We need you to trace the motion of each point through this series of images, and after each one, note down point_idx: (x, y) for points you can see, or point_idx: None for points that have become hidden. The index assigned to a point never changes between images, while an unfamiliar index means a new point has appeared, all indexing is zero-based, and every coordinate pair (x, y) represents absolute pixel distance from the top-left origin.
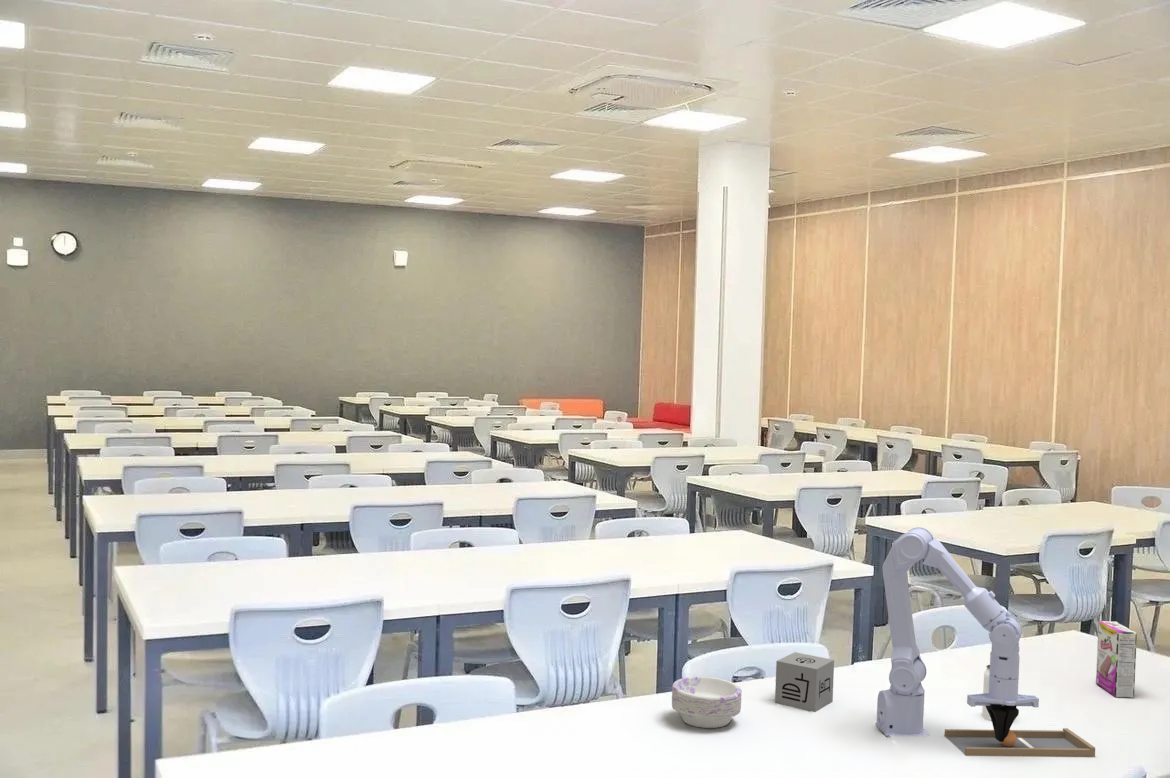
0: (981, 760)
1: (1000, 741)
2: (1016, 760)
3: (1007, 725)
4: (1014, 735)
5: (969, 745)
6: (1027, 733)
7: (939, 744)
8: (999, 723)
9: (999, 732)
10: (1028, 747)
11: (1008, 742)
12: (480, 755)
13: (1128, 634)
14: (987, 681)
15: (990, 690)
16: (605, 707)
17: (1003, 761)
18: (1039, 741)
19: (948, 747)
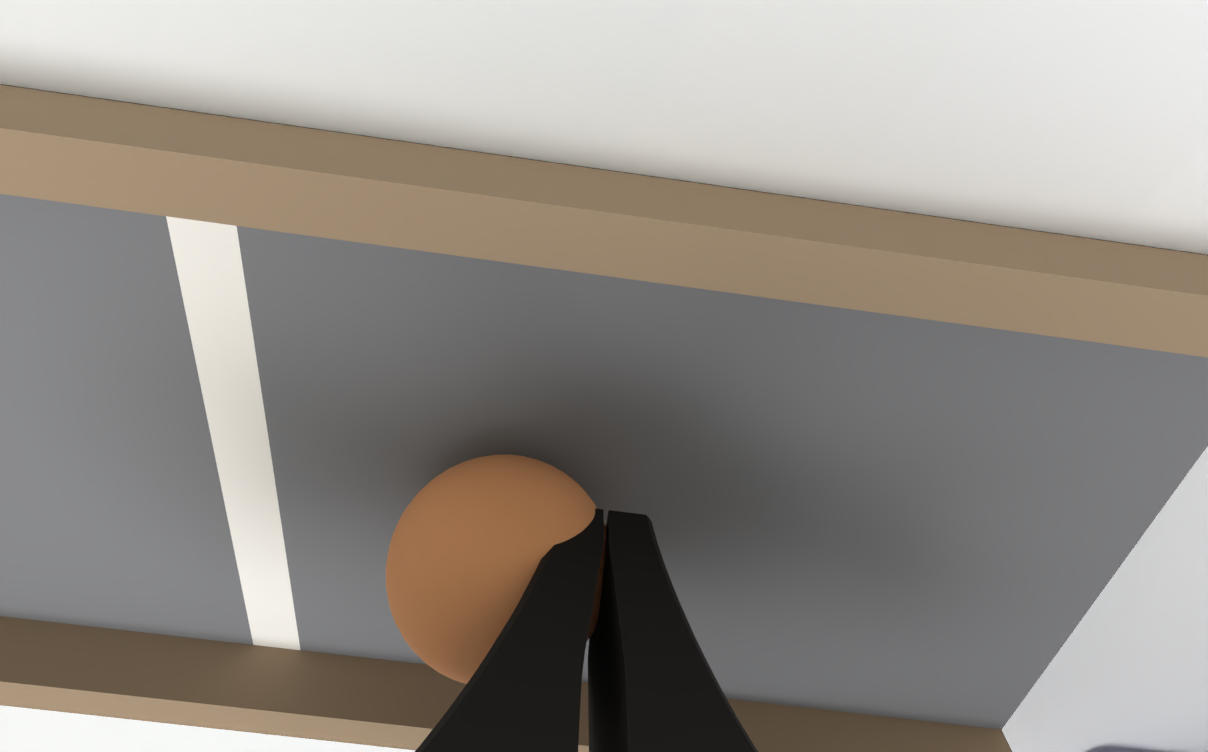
0: (1142, 175)
1: (635, 515)
2: (624, 115)
3: (552, 689)
4: (428, 549)
5: (957, 549)
6: (163, 677)
7: (1154, 635)
8: (726, 744)
9: (678, 605)
10: (276, 428)
11: (546, 475)
12: None
13: None
14: None
15: None
16: None
17: (849, 98)
18: (85, 556)
19: (1141, 570)
